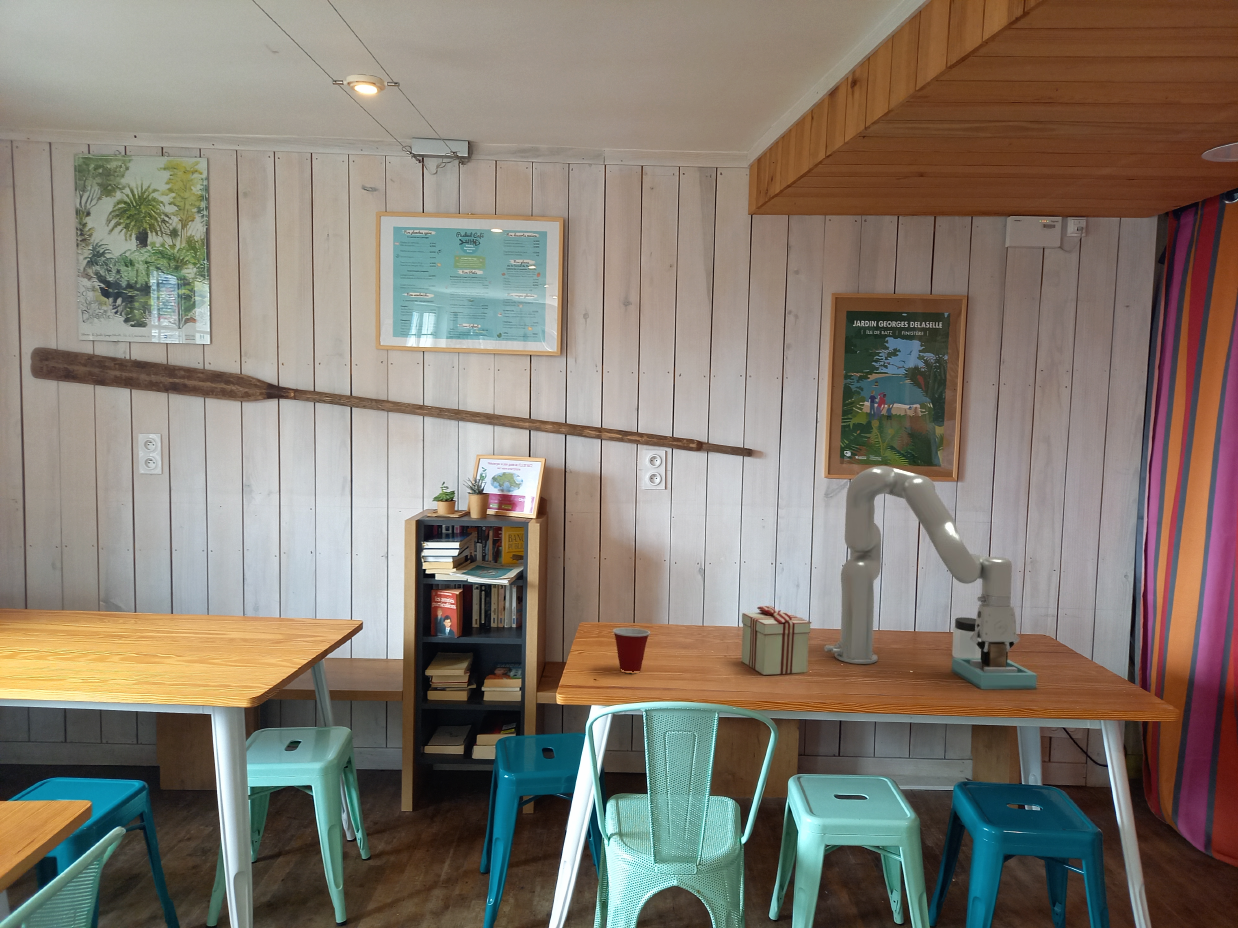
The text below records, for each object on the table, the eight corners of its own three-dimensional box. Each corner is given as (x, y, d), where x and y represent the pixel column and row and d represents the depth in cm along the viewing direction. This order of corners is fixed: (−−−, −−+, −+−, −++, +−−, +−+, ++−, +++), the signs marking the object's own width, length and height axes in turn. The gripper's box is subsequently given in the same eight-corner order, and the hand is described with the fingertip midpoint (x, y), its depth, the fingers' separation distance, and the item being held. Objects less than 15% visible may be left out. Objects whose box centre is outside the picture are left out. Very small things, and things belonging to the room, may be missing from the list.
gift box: (819, 671, 229) (821, 612, 228) (766, 677, 222) (767, 617, 221) (786, 655, 245) (787, 600, 244) (734, 661, 238) (736, 604, 237)
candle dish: (980, 689, 215) (981, 672, 215) (951, 671, 231) (952, 656, 231) (1036, 688, 217) (1037, 672, 216) (1003, 670, 233) (1004, 655, 232)
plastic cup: (655, 668, 228) (656, 627, 228) (640, 678, 219) (641, 636, 218) (621, 663, 233) (622, 623, 232) (605, 673, 223) (606, 631, 223)
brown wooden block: (990, 672, 221) (991, 644, 221) (981, 667, 226) (982, 640, 225) (1005, 672, 222) (1006, 644, 221) (996, 667, 226) (997, 640, 226)
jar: (971, 663, 239) (973, 624, 239) (947, 656, 246) (949, 619, 246) (988, 659, 244) (989, 621, 244) (964, 652, 251) (965, 615, 250)
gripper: (974, 603, 219) (972, 668, 219) (1032, 603, 220) (1029, 667, 221) (960, 598, 226) (958, 660, 227) (1016, 597, 227) (1014, 660, 228)
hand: (993, 663), depth 224 cm, fingers closed on brown wooden block, 4 cm apart
